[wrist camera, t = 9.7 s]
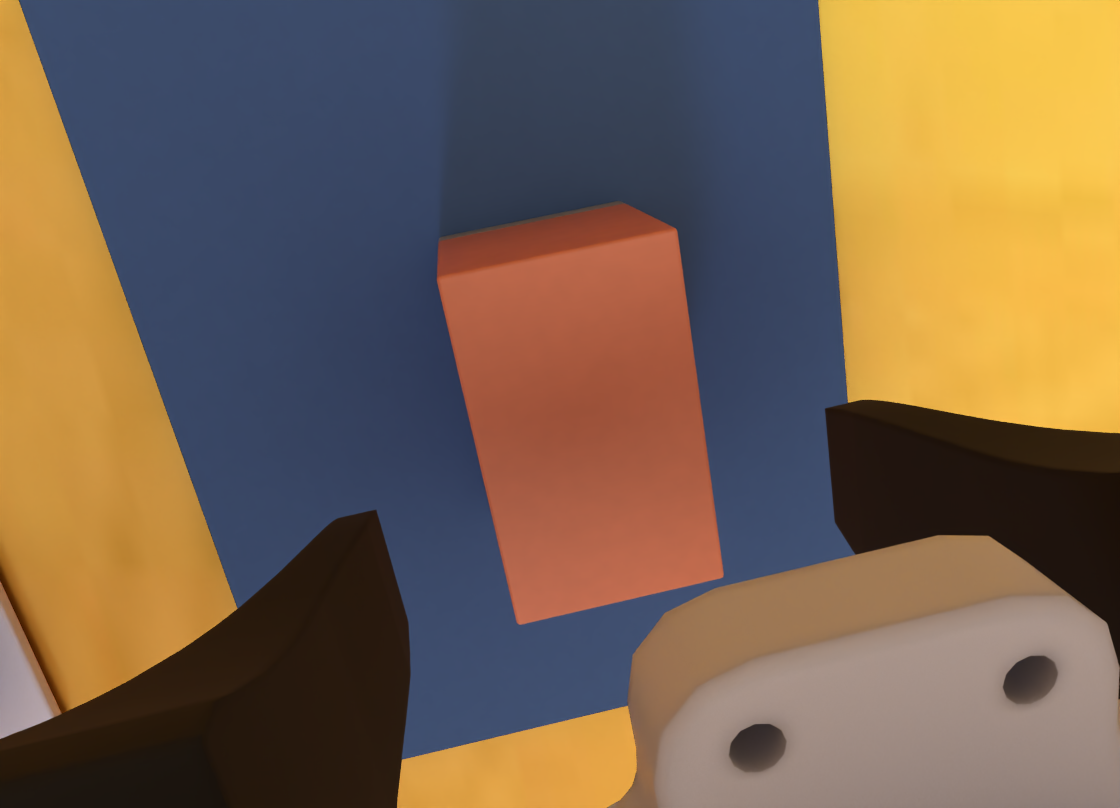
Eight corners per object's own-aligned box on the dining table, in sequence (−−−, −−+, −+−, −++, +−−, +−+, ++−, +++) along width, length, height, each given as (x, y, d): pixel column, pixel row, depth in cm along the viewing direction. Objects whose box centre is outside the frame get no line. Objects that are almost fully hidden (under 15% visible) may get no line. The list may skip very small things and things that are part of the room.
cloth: (302, 776, 24) (300, 784, 23) (15, -23, 17) (9, -25, 17) (861, 642, 25) (866, 648, 24) (800, -163, 18) (806, -168, 18)
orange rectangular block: (501, 515, 22) (517, 626, 17) (437, 237, 19) (436, 277, 15) (664, 478, 22) (724, 578, 17) (620, 199, 19) (677, 227, 15)
